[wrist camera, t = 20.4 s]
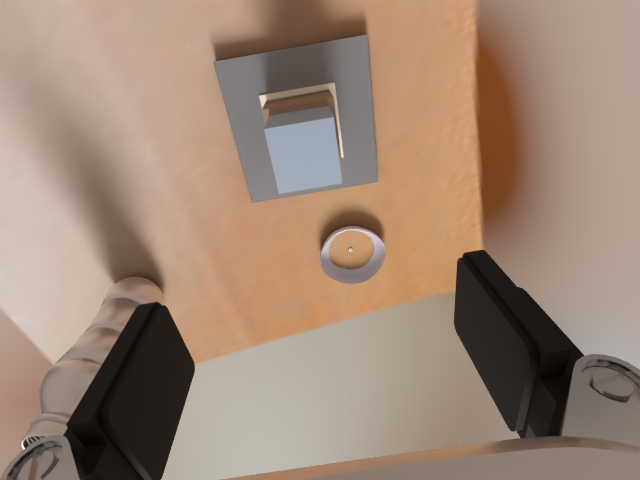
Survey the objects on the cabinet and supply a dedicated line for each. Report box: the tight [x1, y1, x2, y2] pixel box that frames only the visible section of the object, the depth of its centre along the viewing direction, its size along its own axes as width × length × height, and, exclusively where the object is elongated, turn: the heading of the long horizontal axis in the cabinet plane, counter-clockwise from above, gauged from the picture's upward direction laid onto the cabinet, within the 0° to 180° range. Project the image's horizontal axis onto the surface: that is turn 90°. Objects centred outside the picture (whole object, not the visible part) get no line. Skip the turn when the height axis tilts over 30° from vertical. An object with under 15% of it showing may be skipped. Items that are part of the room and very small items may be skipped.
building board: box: [213, 35, 378, 203], centre depth 35 cm, size 14×14×1 cm
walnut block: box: [262, 89, 343, 167], centre depth 32 cm, size 6×6×5 cm
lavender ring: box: [320, 226, 385, 284], centre depth 43 cm, size 8×8×2 cm
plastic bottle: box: [21, 277, 164, 450], centre depth 36 cm, size 6×7×20 cm
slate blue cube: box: [264, 105, 342, 194], centre depth 28 cm, size 5×5×5 cm
